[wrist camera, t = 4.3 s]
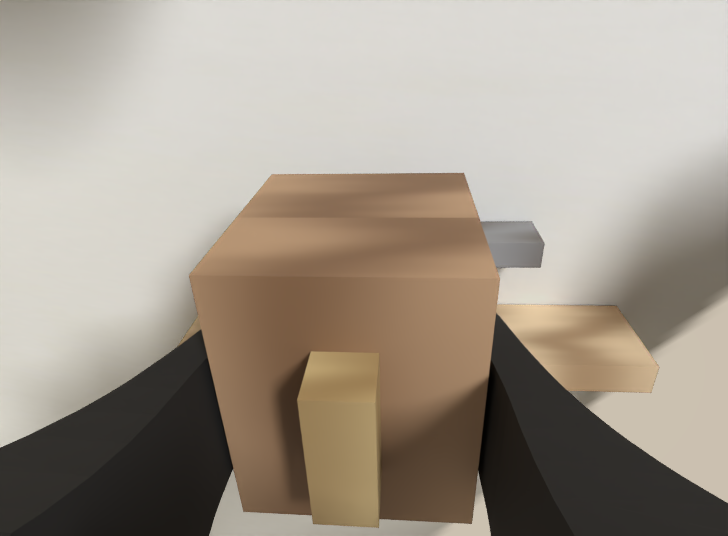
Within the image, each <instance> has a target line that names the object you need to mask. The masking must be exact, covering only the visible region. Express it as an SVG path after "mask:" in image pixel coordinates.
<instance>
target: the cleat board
mask: <svg viewBox="0 0 728 536" xmlns="http://www.w3.org/2000/svg"><path fill="white" fill-rule="evenodd" d="M481 225H482V228H483V231H484V234H485V236H486V239H487V242H488V245H489V248H490V251H491V254H492V257H493V260H494V263H495V266H496V267H520V268H541V262H542V256H543V249H544V242H543V240H542V238H541V236H540V235H539V233H538V231H537V229H536V228H535V226H534V224H533V223H532V221H527V222H481ZM496 313H497V314H498V315H499V316H500V317H501V318H502V320H503V321H504V322H505V323H506V324H507V326H508V327H509V328H510V329H511V331H512V332H513V333H514V334H515V335H516V337H517V338H518V339H519V340H520V341H521V342H522V344H523V345H524V346H525V347H526V348H527V349H528V350H529V352H530V353H531V354H532V355H533V356H534V357H535V358H536V359H537V360H538V361H539V362H540V363H541V365H542V366H543V367H544V368H545V369H546V370H547V371H548V372H549V373H550V374H551V375H552V376H553V377H554V378H555V379H556V380H557V381H558V382H559V383H560V384H561V385H562V386H563V387H564V388H565V389H566V390H567V391H604V392H645V393H651V392H652V389H653V385H654V382H655V379H656V376H657V373H658V370H659V366H658V364H657V363H656V361H655V360H654V359H653V357H652V356H651V354H650V353H649V351H648V350H647V349H646V347H645V346H644V344H643V343H642V341H641V340H640V339H639V337H638V336H637V334H636V333H635V331H634V330H633V329H632V327H631V326H630V324H629V323H628V321H627V320H626V319H625V317H624V316H623V314H622V313H621V311H620V310H619V309H618V307H617V306H587V305H497V309H496ZM199 330H201V326H200V321H199V317H197V318H196V320H195V321H194V323H193V324H192V326H191V327H190V329H189V330H188V332H187V333H186V335H185V336H184V338H183V339H182V341H181V342H180V343H179V345H181V344H182V343H183V342H185V341H186V340H187V339H189V338H190V337H191V336H193V335H194V334H195V333H197V332H198V331H199ZM179 345H178V346H179ZM178 346H177V347H178Z"/></svg>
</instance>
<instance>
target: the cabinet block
mask: <svg viewBox="0 0 728 536" xmlns="http://www.w3.org/2000/svg"><path fill="white" fill-rule="evenodd" d="M189 278H190V282H191V287H192V291H193V295H194V300H195V304H196V308H197V313H198V317H199V321H200V326H201V330H202V334H203V339H204V343H205V347H206V352H207V356H208V360H209V365H210V369H211V373H212V378H213V382H214V386H215V391H216V395H217V399H218V404H219V408H220V412H221V417H222V421H223V425H224V430H225V434H226V438H227V443H228V447H229V451H230V456H231V460H232V464H233V469H234V473H235V477H236V482H237V486H238V490H239V495H240V499H241V503H242V507H243V512H260V513H278V514H297V515H312V520H313V524H322V525H340V526H358V527H376V528H379V519H391V520H410V521H428V522H447V523H468V524H472V518H473V510H474V501H475V492H476V483H477V475H478V466H479V457H480V448H481V440H482V431H483V422H484V414H485V405H486V396H487V387H488V379H489V370H490V361H491V352H492V344H493V335H494V326H495V318H496V309H497V300H498V291H499V283H500V277H499V275H498V272H497V269H496V266H495V263H494V260H493V257H492V254H491V251H490V248H489V245H488V242H487V239H486V236H485V234H484V231H483V228H482V225H481V222H480V219H479V216H478V213H477V210H476V207H475V204H474V201H473V198H472V195H471V193H470V190H469V187H468V184H467V181H466V178H465V175H464V173H404V174H272V175H271V176H270V177H269V178H268V180H267V181H266V182H265V183H264V185H263V186H262V187H261V188H260V189H259V191H258V192H257V193H256V194H255V195H254V197H253V198H252V199H251V200H250V202H249V203H248V204H247V205H246V206H245V208H244V209H243V210H242V211H241V213H240V214H239V215H238V216H237V217H236V219H235V220H234V221H233V222H232V224H231V225H230V226H229V227H228V228H227V230H226V231H225V232H224V233H223V234H222V236H221V237H220V238H219V239H218V241H217V242H216V243H215V244H214V245H213V247H212V248H211V249H210V250H209V252H208V253H207V254H206V255H205V256H204V258H203V259H202V260H201V261H200V262H199V264H198V265H197V266H196V267H195V269H194V270H193V271H192V272H191V273H190V275H189Z"/></svg>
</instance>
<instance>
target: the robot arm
mask: <svg viewBox="0 0 728 536" xmlns="http://www.w3.org/2000/svg"><path fill="white" fill-rule="evenodd" d="M232 470H233V464H232V460H231V456H230V451H229V447H228V443H227V438H226V434H225V430H224V425H223V421H222V417H221V412H220V408H219V404H218V399H217V395H216V391H215V386H214V382H213V378H212V373H211V369H210V365H209V360H208V356H207V352H206V347H205V343H204V339H203V334H202V330H199V331H198V332H197V333H195V334H194V335H193V336H191V337H190V338H189V339H187V340H186V341H185V342H183V343H182V344H181V345H179V346H178V347H177V348H175V349H174V350H173V351H171V352H170V353H169V354H167V355H166V356H164V357H163V358H162V359H160V360H159V361H157V362H156V363H154V364H153V365H151V366H150V367H148V368H147V369H146V370H144V371H143V372H141V373H140V374H138V375H137V376H135V377H134V378H132V379H131V380H129V381H128V382H126V383H125V384H123V385H122V386H120V387H118V388H117V389H115V390H113V391H112V392H110V393H108V394H107V395H105V396H103V397H101V398H100V399H98V400H96V401H94V402H93V403H91V404H89V405H87V406H86V407H84V408H82V409H80V410H78V411H76V412H74V413H72V414H70V415H68V416H66V417H64V418H62V419H60V420H58V421H56V422H54V423H52V424H50V425H48V426H46V427H44V428H42V429H40V430H38V431H36V432H34V433H32V434H30V435H28V436H26V437H24V438H21V439H19V440H17V441H15V442H12V443H10V444H8V445H5V446H3V447H1V448H0V536H209V534H210V530H211V527H212V523H213V520H214V517H215V514H216V511H217V508H218V505H219V503H220V500H221V497H222V494H223V492H224V490H225V487H226V485H227V482H228V480H229V477H230V475H231V472H232ZM478 472H479V476H480V481H481V485H482V490H483V495H484V499H485V504H486V508H487V513H488V519H489V525H490V531H491V536H728V503H726V502H724V501H723V500H721V499H719V498H718V497H716V496H714V495H713V494H711V493H709V492H708V491H706V490H704V489H703V488H701V487H699V486H698V485H696V484H694V483H692V482H691V481H689V480H687V479H686V478H684V477H682V476H681V475H679V474H678V473H676V472H675V471H673V470H671V469H670V468H668V467H667V466H665V465H664V464H662V463H661V462H659V461H658V460H656V459H655V458H653V457H652V456H650V455H649V454H647V453H646V452H644V451H643V450H642V449H640V448H639V447H637V446H636V445H634V444H633V443H631V442H630V441H628V440H627V439H626V438H624V437H623V436H622V435H620V434H619V433H618V432H616V431H615V430H614V429H612V428H611V427H610V426H609V425H607V424H606V423H605V422H604V421H602V420H601V419H600V418H599V417H597V416H596V415H595V414H594V413H592V412H591V411H590V410H589V409H588V408H586V407H585V406H584V405H583V404H582V403H581V402H579V401H578V400H577V399H576V398H575V397H574V396H573V395H572V394H571V393H569V392H568V391H567V390H566V389H565V388H564V387H563V386H562V385H561V384H560V383H559V382H558V381H557V380H556V379H555V378H554V377H553V376H552V375H551V374H550V373H549V372H548V371H547V370H546V369H545V368H544V367H543V366H542V365H541V363H540V362H539V361H538V360H537V359H536V358H535V357H534V356H533V355H532V354H531V353H530V352H529V350H528V349H527V348H526V347H525V346H524V345H523V344H522V342H521V341H520V340H519V339H518V338H517V337H516V335H515V334H514V333H513V332H512V331H511V329H510V328H509V327H508V326H507V324H506V323H505V322H504V321H503V320H502V318H501V317H500V316H499V315H498V314H497V313H496V318H495V326H494V335H493V344H492V352H491V361H490V370H489V379H488V387H487V396H486V405H485V414H484V422H483V431H482V440H481V448H480V457H479V466H478Z"/></svg>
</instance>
